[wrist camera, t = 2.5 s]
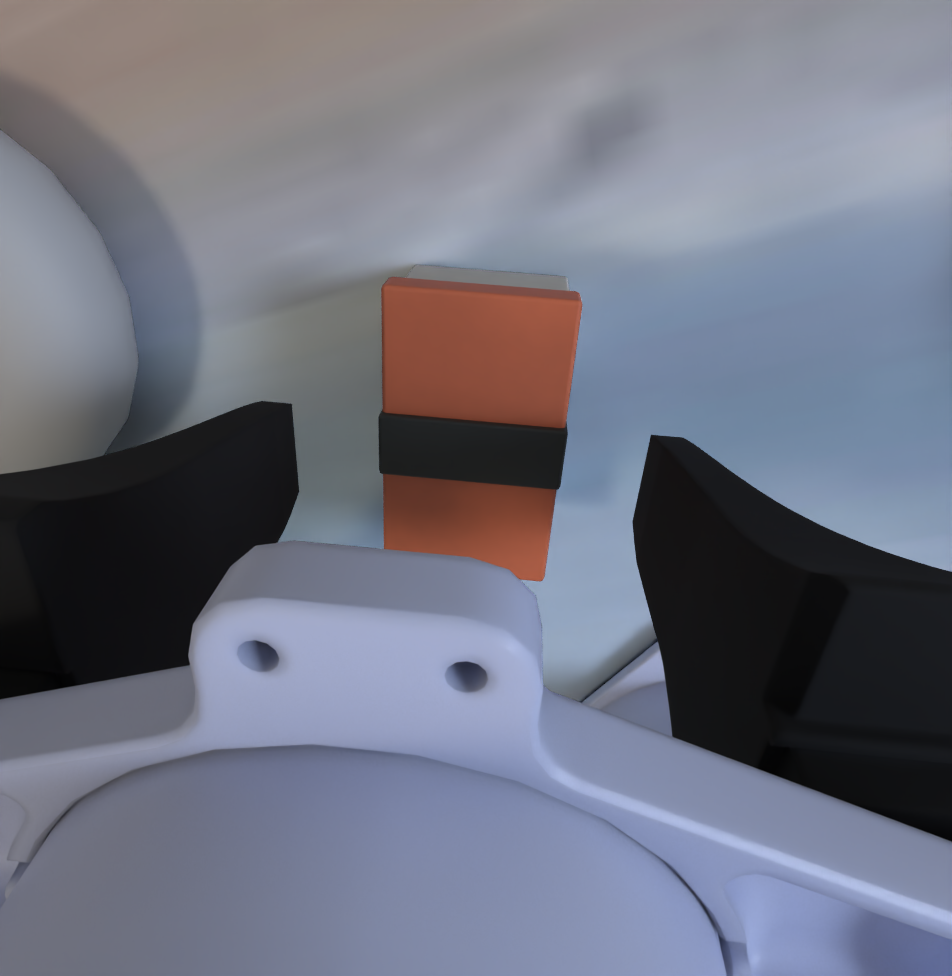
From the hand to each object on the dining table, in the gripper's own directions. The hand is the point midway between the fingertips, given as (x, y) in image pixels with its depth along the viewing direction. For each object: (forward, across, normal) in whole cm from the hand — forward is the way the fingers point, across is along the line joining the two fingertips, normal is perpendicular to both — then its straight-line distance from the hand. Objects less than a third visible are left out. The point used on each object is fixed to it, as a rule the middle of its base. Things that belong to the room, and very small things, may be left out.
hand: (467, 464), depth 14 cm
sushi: (+4, 0, 0) cm, 4 cm away
